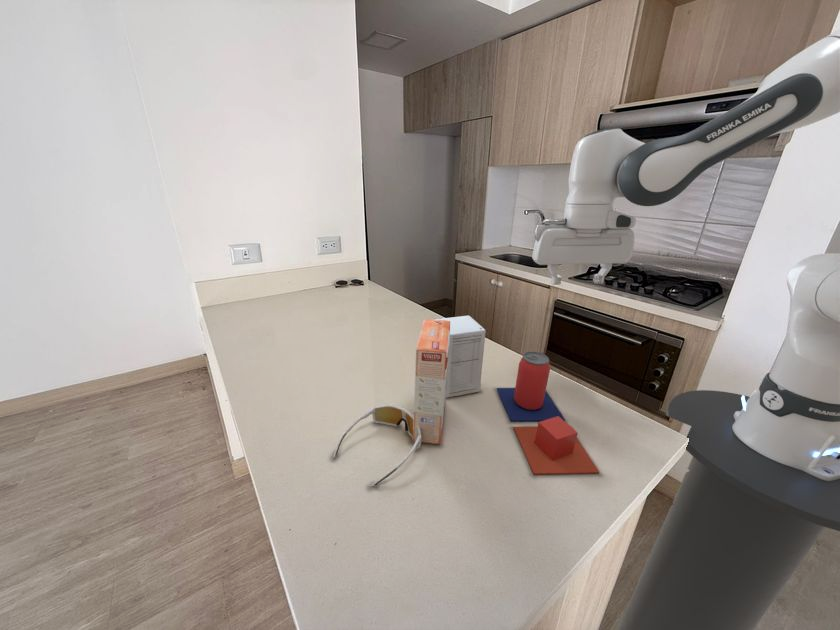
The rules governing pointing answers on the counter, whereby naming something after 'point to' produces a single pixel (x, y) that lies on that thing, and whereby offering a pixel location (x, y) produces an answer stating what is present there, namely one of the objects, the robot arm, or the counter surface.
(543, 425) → the red block
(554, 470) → the terracotta mat
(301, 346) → the counter surface
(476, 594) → the counter surface
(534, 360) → the beer can
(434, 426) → the cracker box
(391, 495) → the counter surface
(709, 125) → the robot arm
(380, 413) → the sunglasses
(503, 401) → the navy mat
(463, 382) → the supplement box
